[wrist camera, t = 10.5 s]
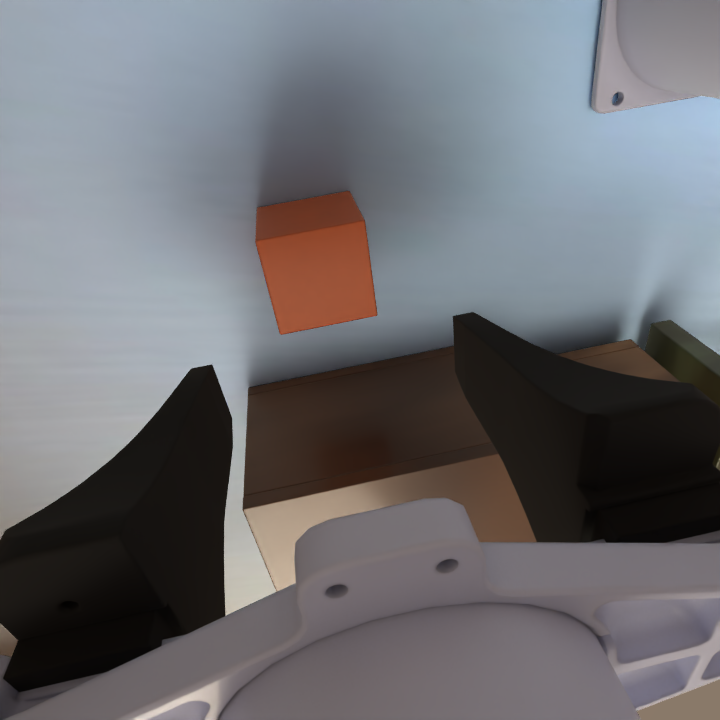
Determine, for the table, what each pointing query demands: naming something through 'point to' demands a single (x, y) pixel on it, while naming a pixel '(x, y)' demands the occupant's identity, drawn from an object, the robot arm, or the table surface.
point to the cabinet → (369, 453)
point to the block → (316, 262)
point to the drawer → (660, 360)
